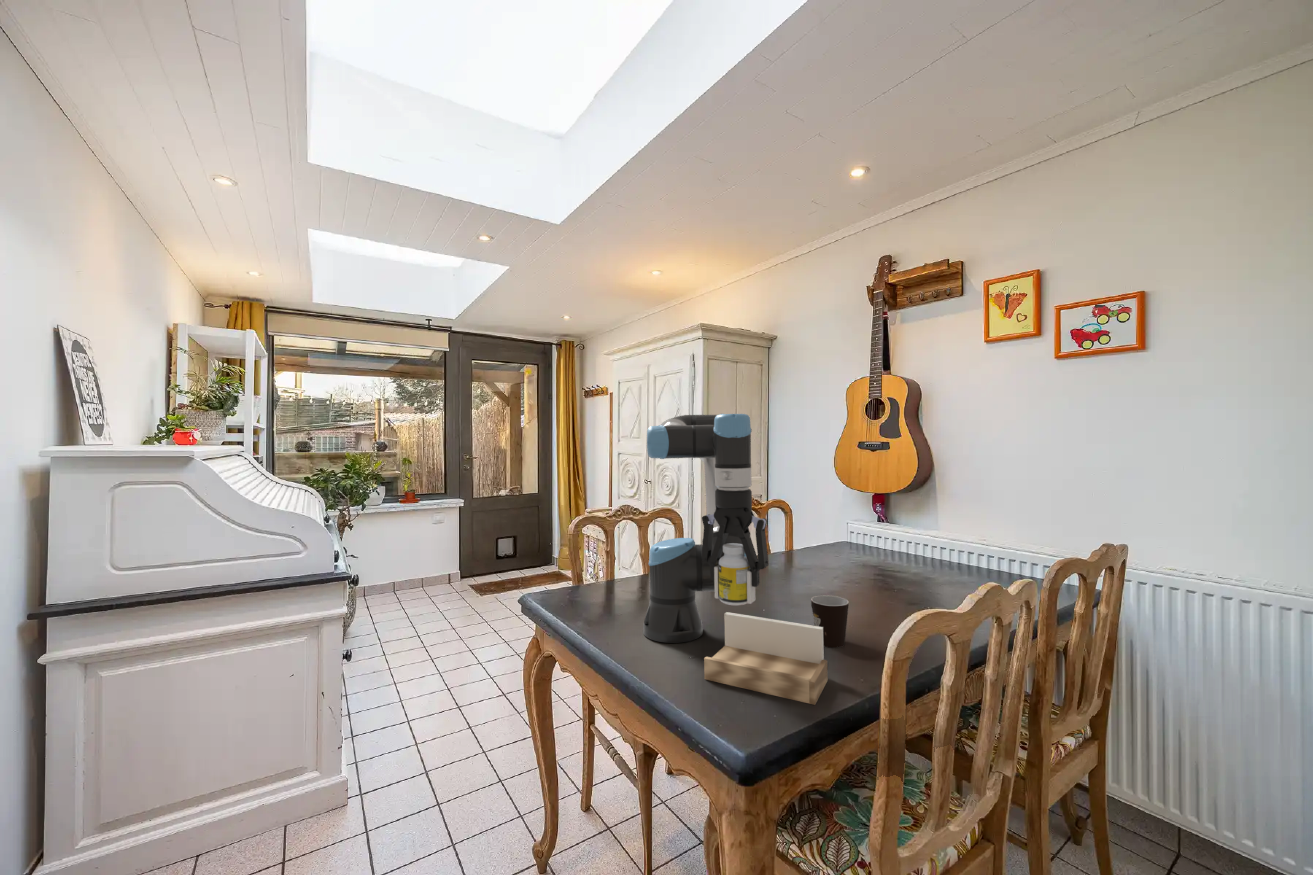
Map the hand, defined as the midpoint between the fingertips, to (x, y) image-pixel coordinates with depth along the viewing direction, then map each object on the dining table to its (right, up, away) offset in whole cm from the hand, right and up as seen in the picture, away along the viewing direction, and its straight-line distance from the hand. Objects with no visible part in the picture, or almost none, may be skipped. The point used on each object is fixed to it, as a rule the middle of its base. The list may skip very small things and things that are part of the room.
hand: (734, 598), depth 107 cm
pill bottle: (0, -1, 0) cm, 1 cm away
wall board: (+8, -15, +3) cm, 18 cm away
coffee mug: (+26, -16, +17) cm, 35 cm away
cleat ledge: (+6, -15, -2) cm, 17 cm away
